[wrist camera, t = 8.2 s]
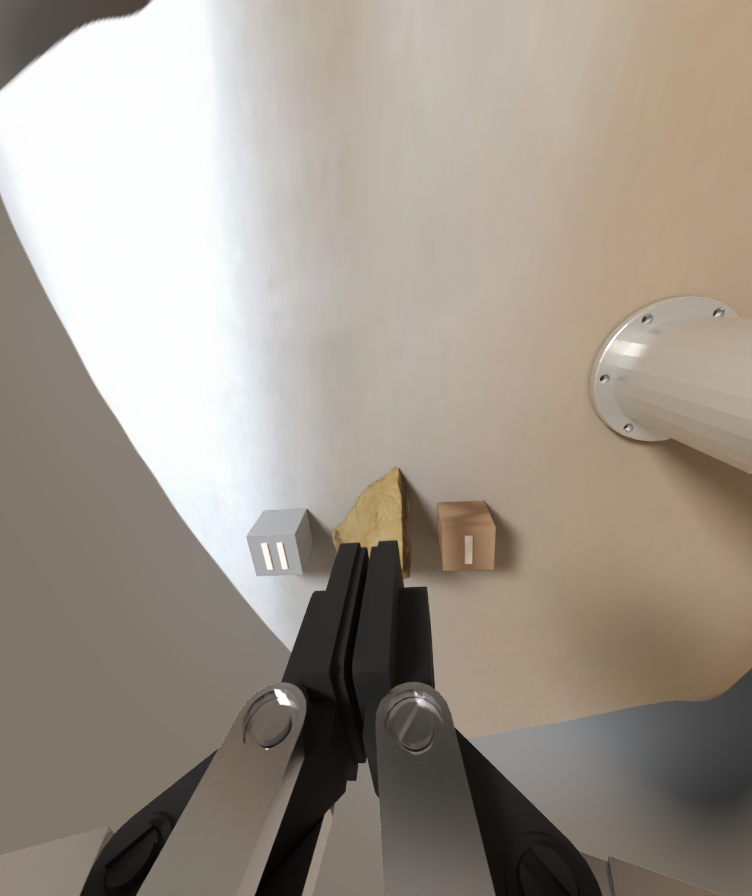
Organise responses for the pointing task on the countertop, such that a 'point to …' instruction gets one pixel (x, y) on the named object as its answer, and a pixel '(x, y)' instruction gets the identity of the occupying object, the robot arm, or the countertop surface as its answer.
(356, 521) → the rock
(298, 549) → the grey block
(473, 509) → the walnut block
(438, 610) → the countertop surface
